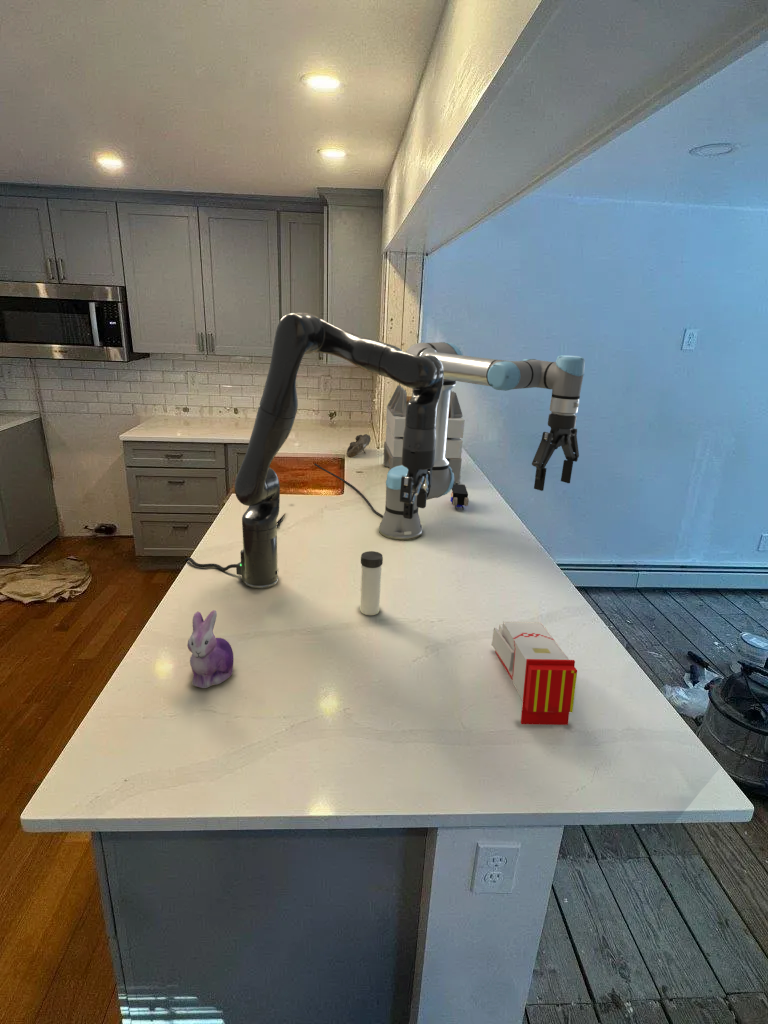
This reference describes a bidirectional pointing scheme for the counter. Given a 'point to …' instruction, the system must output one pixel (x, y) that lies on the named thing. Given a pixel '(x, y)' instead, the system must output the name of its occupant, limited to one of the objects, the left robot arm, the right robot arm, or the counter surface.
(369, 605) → the jar
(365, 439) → the fossil
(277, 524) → the feather
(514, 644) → the toy
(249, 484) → the left robot arm
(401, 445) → the white wooden crate
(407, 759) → the counter surface
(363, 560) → the lid
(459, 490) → the figurine character
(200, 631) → the figurine
